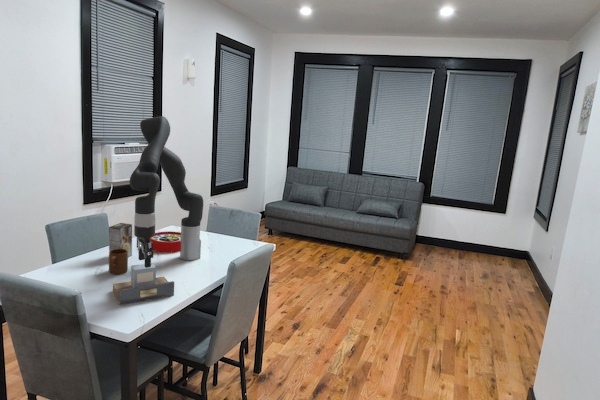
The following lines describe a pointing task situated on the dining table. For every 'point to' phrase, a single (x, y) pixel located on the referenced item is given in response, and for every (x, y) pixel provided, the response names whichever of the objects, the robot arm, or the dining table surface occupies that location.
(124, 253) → the mug
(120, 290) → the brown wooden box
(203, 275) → the dining table surface
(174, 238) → the toy clock
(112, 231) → the coffee box
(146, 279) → the carton
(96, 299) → the dining table surface
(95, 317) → the dining table surface
